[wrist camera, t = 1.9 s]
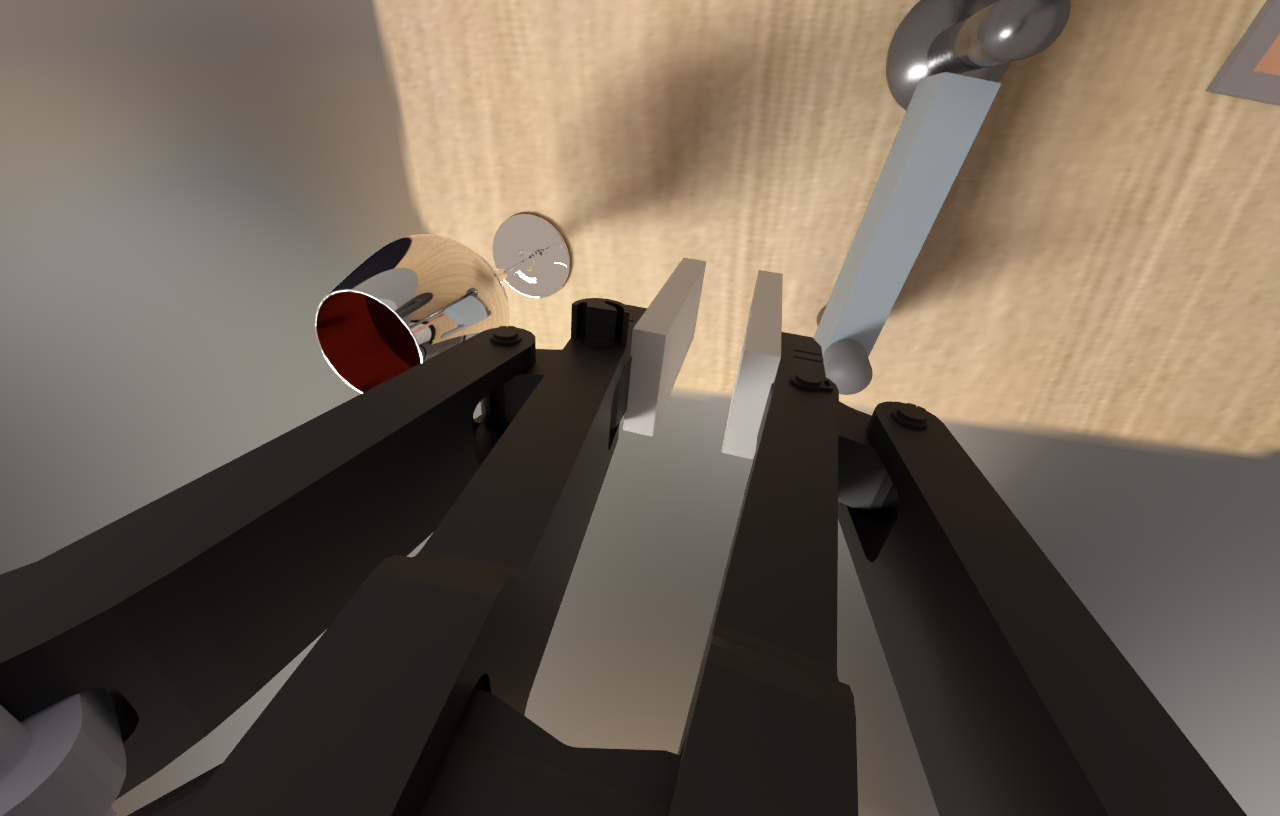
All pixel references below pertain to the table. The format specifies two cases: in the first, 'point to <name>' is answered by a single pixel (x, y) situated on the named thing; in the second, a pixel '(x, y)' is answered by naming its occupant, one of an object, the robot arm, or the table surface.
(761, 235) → the table surface
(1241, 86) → the post
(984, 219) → the table surface
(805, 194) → the table surface
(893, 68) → the hinge post
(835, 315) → the gate
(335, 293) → the wineglass
